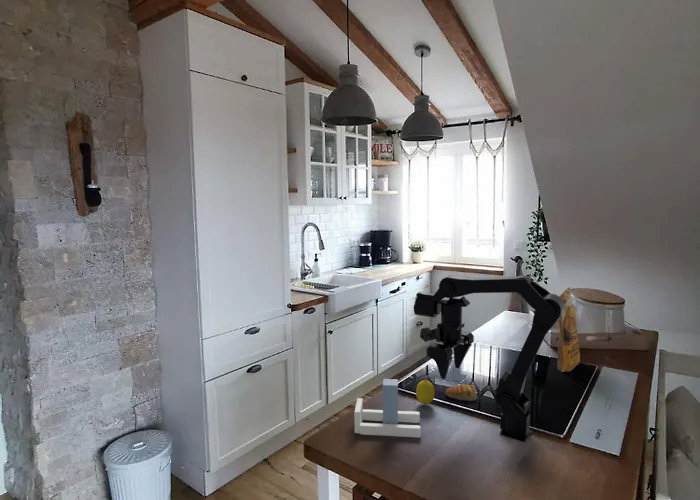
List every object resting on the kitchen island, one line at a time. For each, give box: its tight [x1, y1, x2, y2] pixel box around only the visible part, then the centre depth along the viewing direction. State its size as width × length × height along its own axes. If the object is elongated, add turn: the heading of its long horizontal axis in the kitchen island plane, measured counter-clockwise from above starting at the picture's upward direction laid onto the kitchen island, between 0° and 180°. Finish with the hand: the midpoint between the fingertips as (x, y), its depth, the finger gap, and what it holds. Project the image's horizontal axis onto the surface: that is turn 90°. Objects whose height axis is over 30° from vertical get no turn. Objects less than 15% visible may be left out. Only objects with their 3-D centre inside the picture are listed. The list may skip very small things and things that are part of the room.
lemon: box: [415, 379, 436, 406], centre depth 135 cm, size 6×6×8 cm
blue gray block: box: [382, 378, 399, 425], centre depth 122 cm, size 4×4×13 cm
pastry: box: [445, 383, 478, 402], centre depth 141 cm, size 9×7×4 cm
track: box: [353, 397, 422, 438], centre depth 123 cm, size 18×9×6 cm, turn 83°
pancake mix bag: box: [556, 286, 581, 373], centre depth 163 cm, size 7×19×28 cm, turn 137°
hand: (450, 373), depth 127 cm, fingers open, 9 cm apart
